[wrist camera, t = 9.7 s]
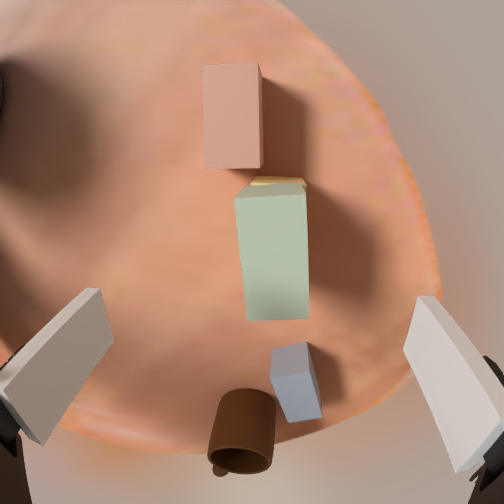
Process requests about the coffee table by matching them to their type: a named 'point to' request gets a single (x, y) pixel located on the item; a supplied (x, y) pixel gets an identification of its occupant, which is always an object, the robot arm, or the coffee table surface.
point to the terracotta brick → (233, 116)
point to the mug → (243, 433)
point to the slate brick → (295, 382)
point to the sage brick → (273, 250)
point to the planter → (0, 93)
